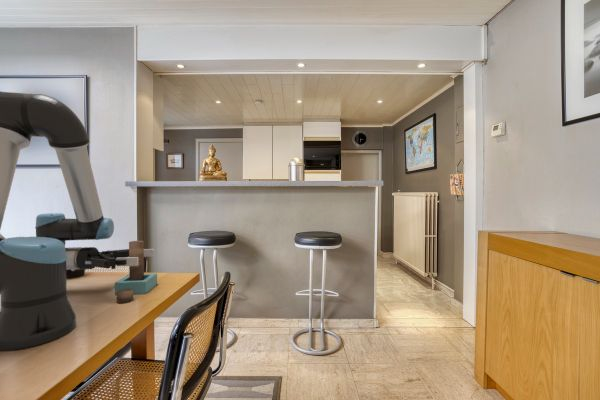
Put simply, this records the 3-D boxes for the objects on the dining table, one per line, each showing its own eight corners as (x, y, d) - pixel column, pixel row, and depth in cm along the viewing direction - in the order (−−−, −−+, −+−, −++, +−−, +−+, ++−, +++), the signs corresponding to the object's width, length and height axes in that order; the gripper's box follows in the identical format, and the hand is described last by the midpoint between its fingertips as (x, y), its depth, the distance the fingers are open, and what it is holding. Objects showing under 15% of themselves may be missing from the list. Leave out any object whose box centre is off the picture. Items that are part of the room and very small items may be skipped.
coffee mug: (78, 272, 122) (77, 249, 121) (92, 274, 119) (92, 250, 119) (46, 280, 111) (46, 254, 110) (62, 282, 108) (61, 256, 108)
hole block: (146, 293, 97) (146, 281, 96) (114, 294, 95) (114, 282, 95) (157, 284, 106) (157, 273, 106) (128, 284, 105) (128, 274, 105)
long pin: (140, 291, 99) (140, 242, 98) (127, 291, 98) (126, 242, 98) (146, 286, 103) (145, 240, 103) (133, 287, 103) (132, 240, 102)
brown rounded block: (136, 299, 91) (136, 289, 91) (123, 303, 87) (123, 293, 87) (126, 297, 93) (126, 288, 93) (113, 301, 89) (113, 292, 89)
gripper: (102, 260, 111) (159, 259, 113) (55, 280, 86) (130, 277, 89) (102, 241, 111) (159, 240, 113) (55, 255, 86) (129, 253, 88)
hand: (146, 256), depth 101 cm, fingers open, 13 cm apart
